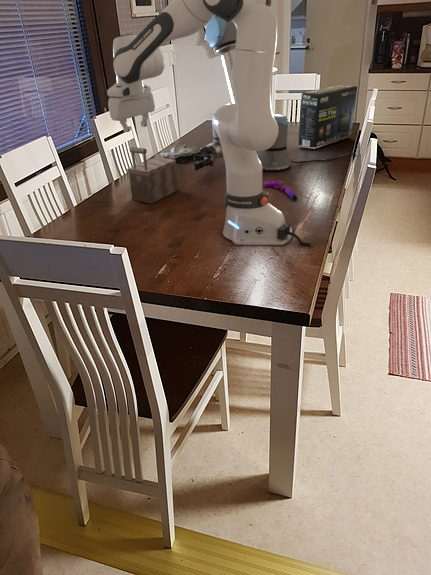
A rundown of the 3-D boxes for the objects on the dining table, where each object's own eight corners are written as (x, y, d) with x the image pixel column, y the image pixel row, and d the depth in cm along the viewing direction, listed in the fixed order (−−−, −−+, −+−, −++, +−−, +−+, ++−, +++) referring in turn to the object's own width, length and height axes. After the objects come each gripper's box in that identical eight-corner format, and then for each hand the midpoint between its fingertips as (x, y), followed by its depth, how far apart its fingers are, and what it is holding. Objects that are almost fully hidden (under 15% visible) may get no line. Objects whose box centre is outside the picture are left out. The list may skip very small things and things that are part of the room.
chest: (151, 203, 176) (147, 175, 170) (132, 199, 181) (128, 171, 175) (178, 190, 188) (175, 163, 183) (159, 186, 193) (156, 160, 187)
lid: (146, 175, 170) (144, 150, 165) (127, 172, 174) (124, 147, 170) (175, 163, 182) (173, 139, 178) (156, 160, 187) (154, 137, 182)
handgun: (263, 185, 189) (263, 181, 188) (281, 183, 190) (281, 179, 189) (278, 202, 172) (278, 197, 171) (298, 200, 173) (298, 195, 172)
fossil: (184, 156, 217) (163, 136, 220) (174, 174, 223) (154, 154, 227) (205, 153, 231) (186, 134, 234) (195, 171, 237) (176, 152, 240)
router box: (314, 151, 231) (318, 94, 217) (296, 148, 237) (299, 92, 224) (352, 138, 251) (358, 85, 238) (335, 135, 258) (340, 83, 245)
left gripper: (143, 83, 167) (147, 122, 174) (103, 91, 153) (109, 134, 160) (156, 84, 164) (160, 124, 171) (117, 92, 150) (123, 135, 157)
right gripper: (233, 164, 206) (207, 177, 191) (188, 158, 218) (160, 169, 203) (233, 147, 202) (206, 159, 187) (187, 141, 214) (158, 152, 199)
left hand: (135, 129), depth 166 cm, fingers open, 8 cm apart
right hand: (182, 165), depth 195 cm, fingers open, 13 cm apart
